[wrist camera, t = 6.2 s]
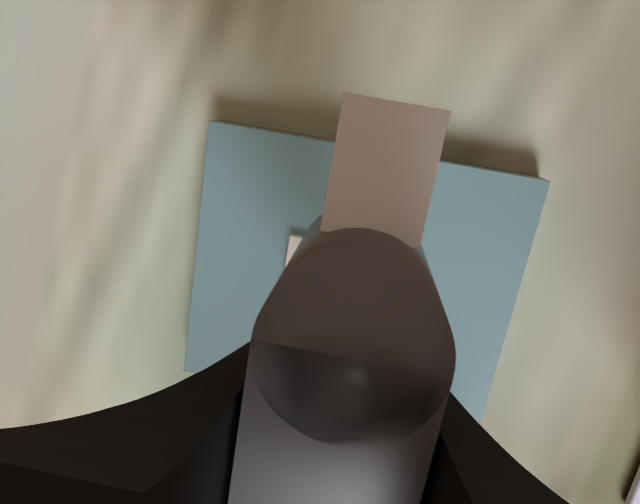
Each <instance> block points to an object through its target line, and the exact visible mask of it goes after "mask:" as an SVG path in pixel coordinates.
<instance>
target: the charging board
mask: <svg viewBox="0 0 640 504" xmlns="http://www.w3.org/2000/svg"><path fill="white" fill-rule="evenodd" d="M334 145H335V141H331V140H325V139H320V138H314V137H308V136H303V135H297V134H291V133H286V132H280V131H274V130H269V129H263V128H257V127H252V126H246V125H240V124H235V123H229V122H223V121H209V127H208V137H207V147H206V157H205V167H204V176H203V186H202V196H201V206H200V216H199V226H198V236H197V245H196V255H195V265H194V275H193V285H192V295H191V305H190V314H189V324H188V334H187V344H186V354H185V364H184V371H187V372H192V373H198V372H200V371H202V370H204V369H206V368H207V367H209V366H211V365H212V364H214V363H216V362H218V361H219V360H221V359H222V358H224V357H226V356H227V355H229V354H230V353H232V352H234V351H235V350H237V349H238V348H240V347H242V346H243V345H245V344H246V343H248V342H250V341H251V336H252V331H253V327H254V324H255V321H256V318H257V316H258V314H259V312H260V310H261V308H262V306H263V305H264V303H265V301H266V299H267V298H268V296H269V294H270V293H271V291H272V289H273V288H274V286H275V284H276V282H277V281H278V279H279V277H280V276H281V274H282V272H283V271H284V269H285V267H286V265H287V264H288V262H289V260H290V259H291V257H292V255H293V254H294V252H295V250H296V248H297V247H298V245H299V243H300V242H301V240H302V238H303V237H304V235H305V233H306V231H307V230H308V228H309V227H310V226H311V224H312V223H313V222H314V221H315V220H316V219H317V218H318V217H319V216H320V215H322V214H323V210H324V204H325V198H326V192H327V186H328V180H329V174H330V169H331V163H332V157H333V151H334ZM549 184H550V181H548V180H545V179H543V178H540V177H536V176H530V175H524V174H519V173H513V172H507V171H502V170H496V169H490V168H485V167H479V166H473V165H468V164H462V163H456V162H450V161H445V160H440V161H439V165H438V169H437V174H436V178H435V183H434V187H433V191H432V196H431V200H430V204H429V209H428V213H427V218H426V222H425V226H424V231H423V235H422V239H421V245H422V248H423V251H424V254H425V257H426V259H427V262H428V265H429V268H430V271H431V273H432V276H433V279H434V282H435V285H436V287H437V290H438V293H439V296H440V299H441V301H442V304H443V307H444V310H445V313H446V315H447V318H448V321H449V324H450V327H451V329H452V333H453V337H454V341H455V350H456V367H455V372H454V378H453V382H452V386H451V389H450V392H451V393H452V394H453V395H454V396H455V397H456V399H457V400H458V401H459V402H460V403H461V404H462V405H463V407H464V408H465V409H466V410H467V411H468V412H469V413H470V415H471V416H472V417H473V418H474V419H475V420H476V421H477V422H478V423H479V424H480V420H481V417H482V413H483V410H484V406H485V403H486V400H487V396H488V393H489V389H490V386H491V382H492V379H493V376H494V372H495V369H496V365H497V362H498V358H499V355H500V352H501V348H502V345H503V341H504V338H505V335H506V331H507V328H508V324H509V321H510V317H511V314H512V311H513V307H514V304H515V300H516V297H517V293H518V290H519V287H520V283H521V280H522V276H523V273H524V269H525V266H526V263H527V259H528V256H529V252H530V249H531V245H532V242H533V239H534V235H535V232H536V228H537V225H538V221H539V218H540V215H541V211H542V208H543V204H544V201H545V197H546V194H547V191H548V187H549Z"/></svg>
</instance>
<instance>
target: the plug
mask: <svg viewBox="0 0 640 504" xmlns="http://www.w3.org/2000/svg"><path fill="white" fill-rule="evenodd" d="M450 113H451V111H449V110H443V109H437V108H431V107H425V106H420V105H414V104H408V103H402V102H396V101H390V100H384V99H379V98H373V97H367V96H361V95H355V94H349V93H343V98H342V104H341V110H340V116H339V122H338V127H337V133H336V139H335V145H334V151H333V157H332V163H331V169H330V174H329V180H328V186H327V192H326V198H325V204H324V210H323V214H322V215H320V216H319V217H318V218H317V219H316V220H315V221H314V222H313V223H312V224H311V226H310V227H309V228H308V230H307V231H306V233H305V235H304V237H303V238H302V240H301V242H300V243H299V245H298V247H297V248H296V250H295V252H294V254H293V255H292V257H291V259H290V260H289V262H288V264H287V265H286V267H285V269H284V271H283V272H282V274H281V276H280V277H279V279H278V281H277V282H276V284H275V286H274V288H273V289H272V291H271V293H270V294H269V296H268V298H267V299H266V301H265V303H264V305H263V306H262V308H261V310H260V312H259V314H258V316H257V318H256V321H255V324H254V327H253V331H252V336H251V341H250V348H249V355H248V363H247V370H246V377H245V384H244V391H243V398H242V405H241V413H240V420H239V427H238V434H237V441H236V448H235V455H234V463H233V470H232V477H231V484H230V491H229V498H228V504H420V501H421V498H422V494H423V490H424V486H425V483H426V479H427V475H428V471H429V468H430V464H431V460H432V457H433V453H434V449H435V445H436V442H437V438H438V434H439V430H440V427H441V423H442V419H443V415H444V412H445V408H446V404H447V400H448V397H449V393H450V389H451V386H452V382H453V378H454V372H455V367H456V350H455V341H454V337H453V333H452V329H451V327H450V324H449V321H448V318H447V315H446V313H445V310H444V307H443V304H442V301H441V299H440V296H439V293H438V290H437V287H436V285H435V282H434V279H433V276H432V273H431V271H430V268H429V265H428V262H427V259H426V257H425V254H424V251H423V248H422V245H421V239H422V235H423V231H424V226H425V222H426V218H427V213H428V209H429V204H430V200H431V196H432V191H433V187H434V183H435V178H436V174H437V169H438V165H439V161H440V156H441V152H442V148H443V143H444V139H445V134H446V130H447V126H448V121H449V117H450Z"/></svg>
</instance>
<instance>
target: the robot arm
mask: <svg viewBox="0 0 640 504" xmlns="http://www.w3.org/2000/svg"><path fill="white" fill-rule="evenodd" d="M249 348H250V342H248V343H246V344H245V345H243V346H242V347H240V348H238V349H237V350H235V351H234V352H232V353H230V354H229V355H227V356H226V357H224V358H222V359H221V360H219V361H218V362H216V363H214V364H212V365H211V366H209V367H207V368H206V369H204V370H202V371H200V372H198V373H196V374H194V375H192V376H190V377H188V378H186V379H184V380H182V381H180V382H178V383H176V384H174V385H172V386H170V387H168V388H165V389H163V390H161V391H158V392H156V393H153V394H151V395H148V396H145V397H143V398H140V399H137V400H134V401H131V402H128V403H125V404H121V405H118V406H114V407H111V408H107V409H104V410H101V411H97V412H94V413H90V414H86V415H82V416H77V417H72V418H68V419H63V420H58V421H52V422H47V423H41V424H36V425H29V426H22V427H14V428H5V429H0V504H228V498H229V491H230V484H231V477H232V470H233V463H234V455H235V448H236V441H237V434H238V427H239V420H240V413H241V405H242V398H243V391H244V384H245V377H246V370H247V363H248V355H249ZM420 504H569V503H568V502H566V501H565V500H564V499H562V498H561V497H560V496H558V495H557V494H556V493H554V492H553V491H552V490H551V489H549V488H548V487H547V486H546V485H544V484H543V483H542V482H541V481H540V480H538V479H537V478H536V477H535V476H533V475H532V474H531V473H530V472H529V471H527V470H526V469H525V468H524V467H523V466H522V465H520V464H519V463H518V462H517V461H516V460H515V459H514V458H513V457H512V456H511V455H510V454H508V453H507V452H506V451H505V450H504V449H503V448H502V447H501V446H500V445H499V444H498V443H497V442H496V441H495V440H494V439H493V438H492V437H491V436H490V435H489V434H488V433H487V432H486V431H485V430H484V429H483V428H482V427H481V425H480V424H479V423H478V422H477V421H476V420H475V419H474V418H473V417H472V416H471V415H470V413H469V412H468V411H467V410H466V409H465V408H464V407H463V405H462V404H461V403H460V402H459V401H458V400H457V399H456V397H455V396H454V395H453V394H452V393H451V392H450V393H449V397H448V400H447V404H446V408H445V412H444V415H443V419H442V423H441V427H440V430H439V434H438V438H437V442H436V445H435V449H434V453H433V457H432V460H431V464H430V468H429V471H428V475H427V479H426V483H425V486H424V490H423V494H422V498H421V501H420ZM625 504H640V466H639V468H638V471H637V473H636V476H635V478H634V481H633V483H632V486H631V488H630V491H629V493H628V496H627V498H626V501H625Z"/></svg>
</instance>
